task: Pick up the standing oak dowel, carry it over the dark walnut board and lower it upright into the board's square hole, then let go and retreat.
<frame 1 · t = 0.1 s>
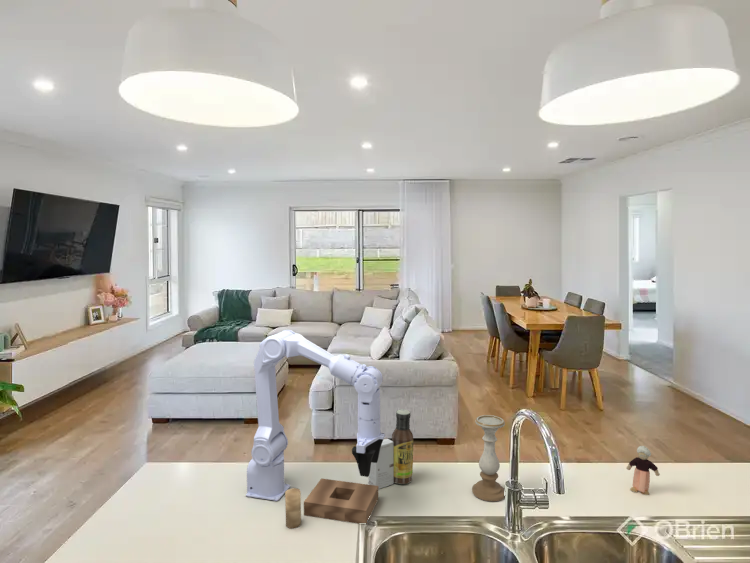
hand: (369, 468, 121), 10 cm above the counter, tool pointing down, fingers open, 7 cm apart
oak peg: (293, 524, 115), on the counter
candle holder: (488, 494, 128), on the counter
walnut board: (342, 506, 122), on the counter
grandmother figurine: (642, 492, 129), on the counter
sauce bottle: (401, 480, 135), on the counter, touching skincare box
skincare box: (381, 484, 133), on the counter, touching sauce bottle
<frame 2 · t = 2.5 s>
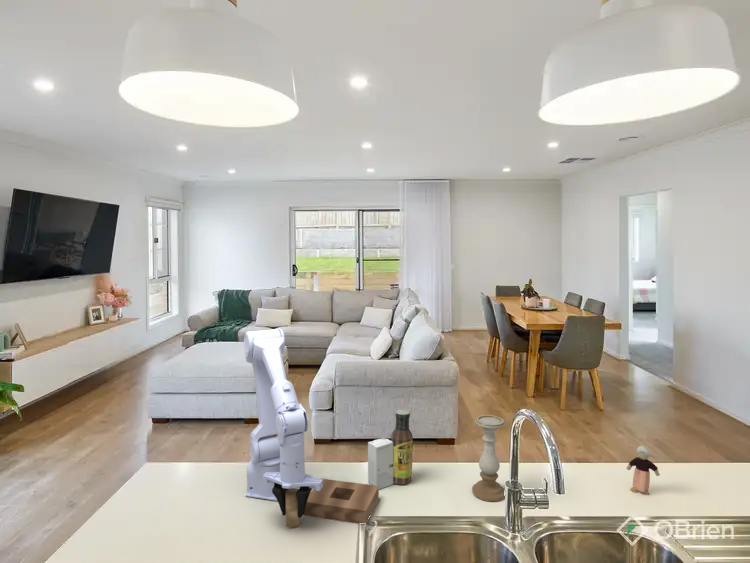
hand: (293, 514, 114), 2 cm above the counter, tool pointing down, fingers closed on oak peg, 4 cm apart
oak peg: (293, 524, 114), on the counter, touching gripper
sauce bottle: (401, 481, 135), on the counter, touching skincare box
everything else where it was.
when the fingers open (4 cm above the counter, at t = 5.5 s): oak peg drops 2 cm, resting in walnut board.
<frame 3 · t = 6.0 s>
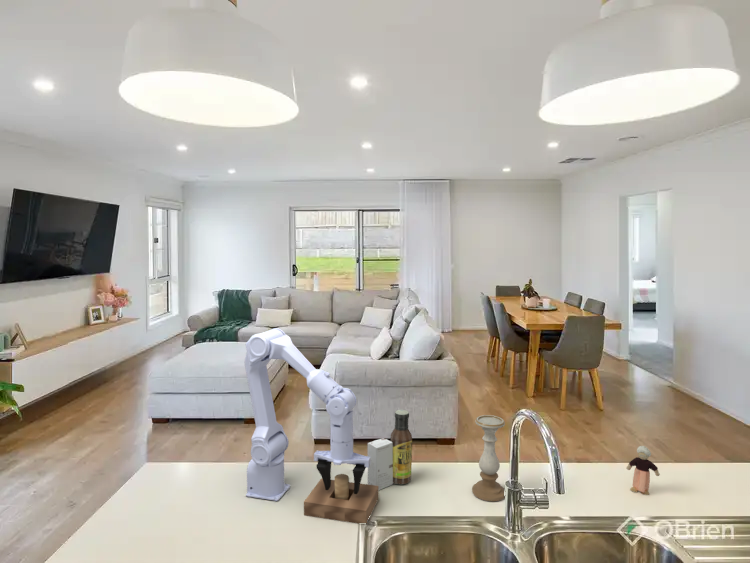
hand: (342, 490, 121), 4 cm above the counter, tool pointing down, fingers open, 7 cm apart
oak peg: (341, 507, 122), resting in walnut board
everything else where it was.
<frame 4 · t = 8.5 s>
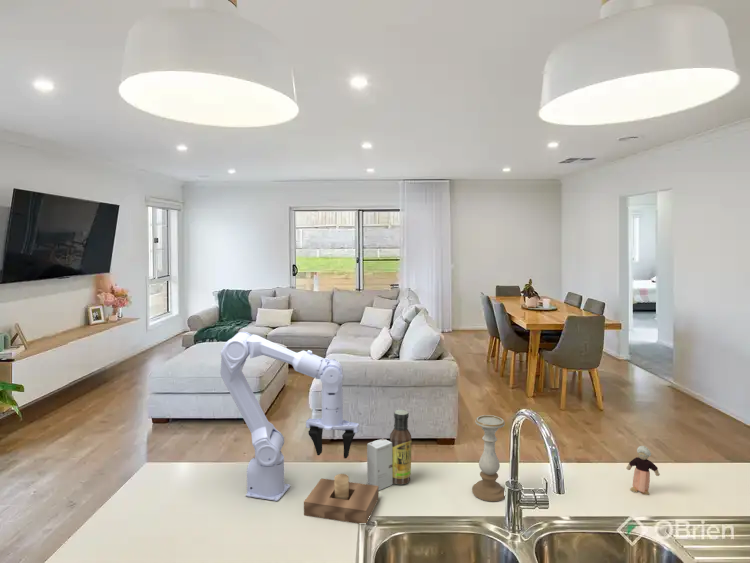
hand: (332, 455, 129), 10 cm above the counter, tool pointing down, fingers open, 7 cm apart
nothing on the counter moved.
at the end: oak peg 0.3 cm off-centre on the walnut board, point 0.0 cm above the walnut board's base; oak peg tilted 0°; the gripper is holding nothing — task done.
